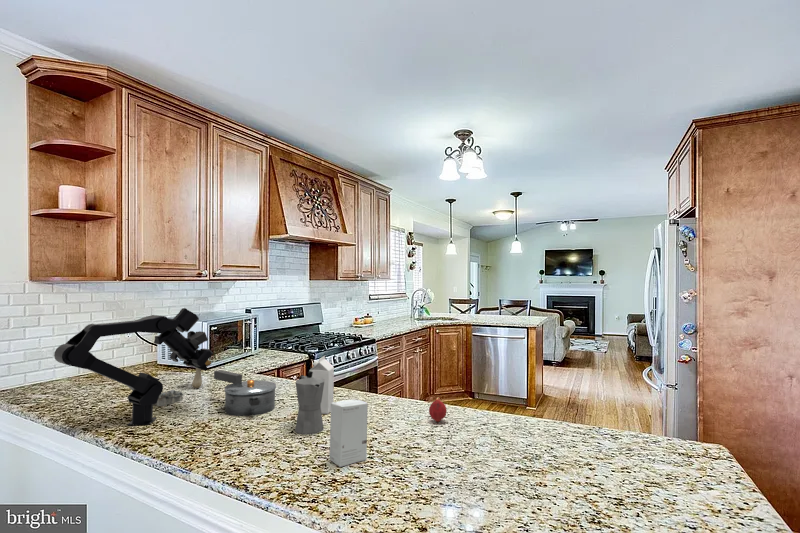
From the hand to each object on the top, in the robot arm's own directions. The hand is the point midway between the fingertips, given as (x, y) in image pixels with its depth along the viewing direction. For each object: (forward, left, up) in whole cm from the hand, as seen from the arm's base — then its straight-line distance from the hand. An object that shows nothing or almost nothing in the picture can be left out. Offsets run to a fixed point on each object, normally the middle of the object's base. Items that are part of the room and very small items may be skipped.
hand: (206, 369), depth 159 cm
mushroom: (+30, +10, -14) cm, 34 cm away
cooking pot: (-5, -17, -14) cm, 22 cm away
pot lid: (0, -12, -6) cm, 14 cm away
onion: (-29, -80, -14) cm, 86 cm away
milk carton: (-11, -42, -14) cm, 45 cm away
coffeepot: (-29, -38, -14) cm, 50 cm away
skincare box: (-55, -49, -14) cm, 75 cm away
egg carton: (+9, +16, -14) cm, 23 cm away
